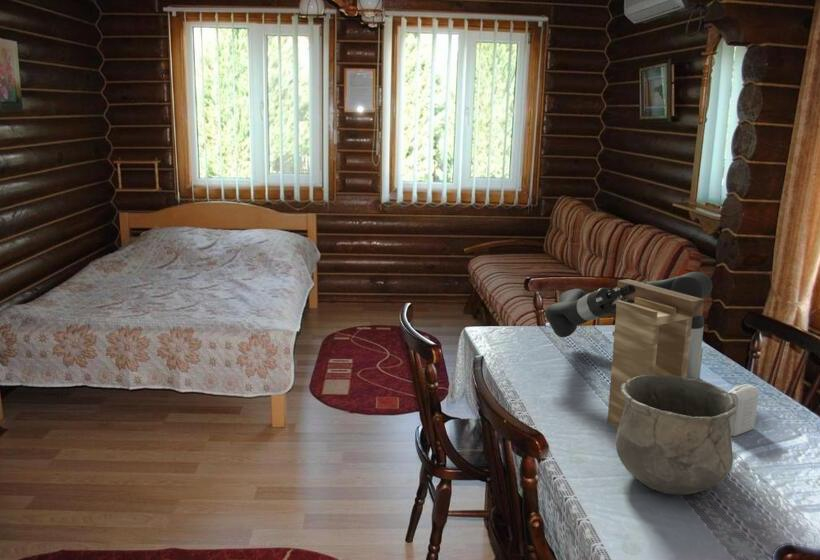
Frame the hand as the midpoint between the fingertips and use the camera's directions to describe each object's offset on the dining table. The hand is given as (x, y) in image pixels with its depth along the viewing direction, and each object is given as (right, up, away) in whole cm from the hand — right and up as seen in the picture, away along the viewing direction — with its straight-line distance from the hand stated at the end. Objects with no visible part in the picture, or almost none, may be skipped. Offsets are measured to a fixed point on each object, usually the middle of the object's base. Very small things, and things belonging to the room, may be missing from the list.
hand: (639, 286), depth 181 cm
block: (+3, -5, -4) cm, 7 cm away
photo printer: (+24, -37, -3) cm, 45 cm away
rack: (+1, -36, 0) cm, 36 cm away
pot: (-3, -43, -28) cm, 52 cm away
